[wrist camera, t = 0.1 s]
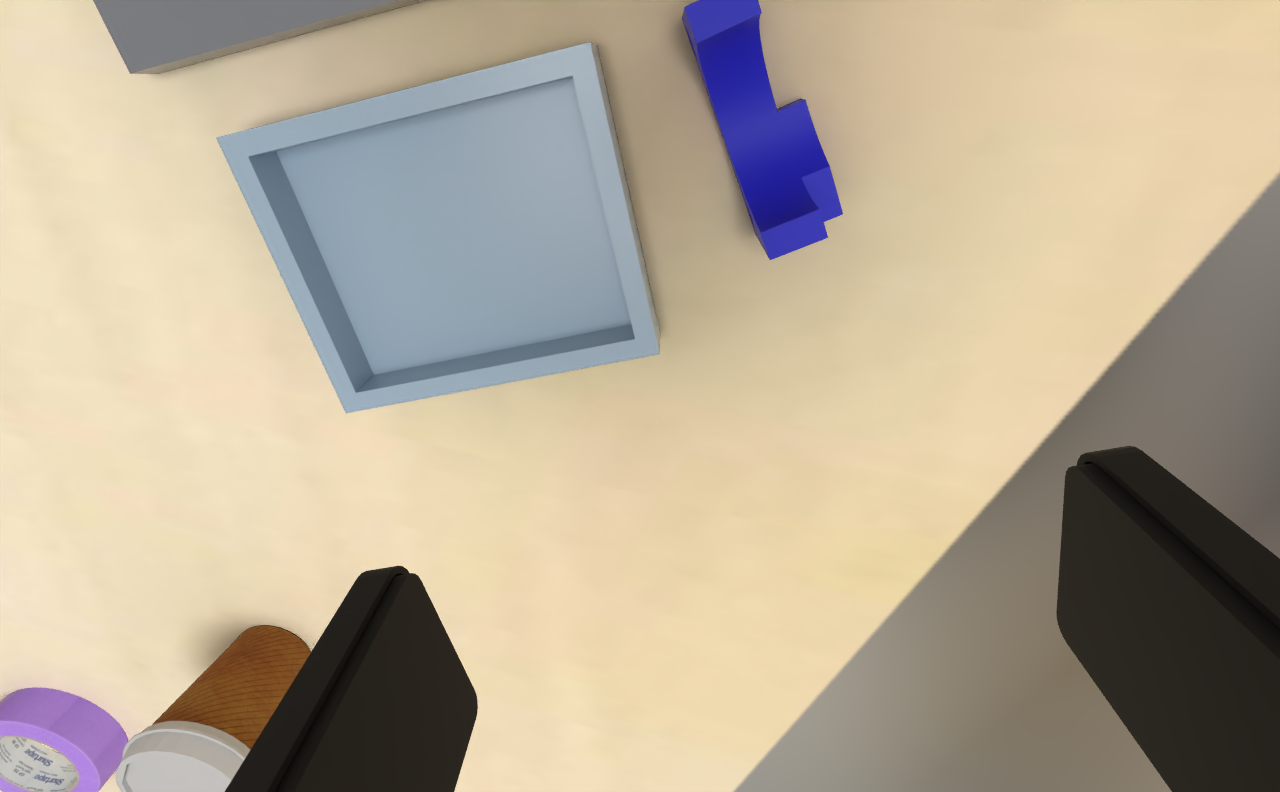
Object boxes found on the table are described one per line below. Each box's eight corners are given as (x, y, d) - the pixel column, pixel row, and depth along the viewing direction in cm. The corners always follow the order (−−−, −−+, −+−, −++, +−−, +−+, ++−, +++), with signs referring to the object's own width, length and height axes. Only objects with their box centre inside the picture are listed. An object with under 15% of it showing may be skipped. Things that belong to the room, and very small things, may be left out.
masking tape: (-10, 673, 58) (-52, 711, 55) (124, 700, 59) (91, 739, 55) (13, 754, 63) (-25, 793, 60) (136, 777, 64) (105, 817, 61)
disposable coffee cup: (273, 594, 52) (170, 728, 41) (354, 667, 55) (279, 809, 45) (194, 637, 55) (78, 774, 44) (277, 704, 58) (188, 847, 47)
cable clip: (830, 204, 37) (857, 225, 32) (755, 234, 38) (770, 260, 33) (765, -22, 32) (784, -42, 27) (681, 18, 33) (684, 7, 28)
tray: (255, 132, 36) (216, 137, 33) (597, 45, 34) (590, 41, 31) (369, 389, 43) (345, 413, 40) (660, 332, 41) (659, 354, 38)
